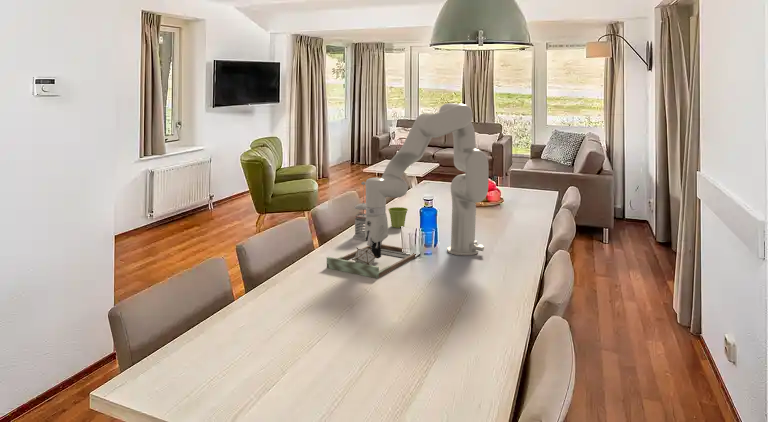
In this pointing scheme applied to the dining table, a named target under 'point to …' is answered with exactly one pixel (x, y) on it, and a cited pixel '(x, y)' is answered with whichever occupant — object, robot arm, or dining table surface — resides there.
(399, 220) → the plant pot
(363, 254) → the game die
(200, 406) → the dining table surface
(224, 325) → the dining table surface
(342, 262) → the shallow open box
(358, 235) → the french press
